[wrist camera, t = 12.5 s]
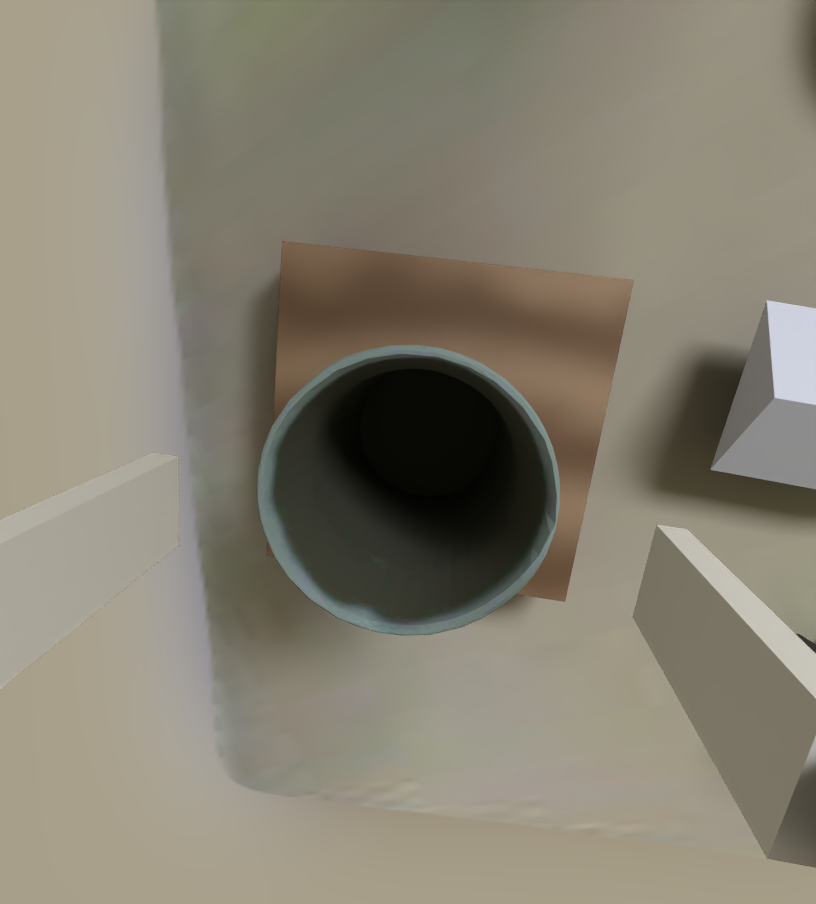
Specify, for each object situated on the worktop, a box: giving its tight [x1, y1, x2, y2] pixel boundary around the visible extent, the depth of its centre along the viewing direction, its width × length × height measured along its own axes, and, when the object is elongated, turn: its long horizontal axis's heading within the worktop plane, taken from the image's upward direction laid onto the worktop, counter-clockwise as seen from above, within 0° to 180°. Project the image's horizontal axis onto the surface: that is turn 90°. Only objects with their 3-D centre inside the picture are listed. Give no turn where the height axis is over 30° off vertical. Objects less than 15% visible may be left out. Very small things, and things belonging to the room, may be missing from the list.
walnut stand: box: [267, 241, 634, 602], centre depth 31 cm, size 18×18×4 cm
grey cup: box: [257, 345, 560, 635], centre depth 23 cm, size 10×10×12 cm
